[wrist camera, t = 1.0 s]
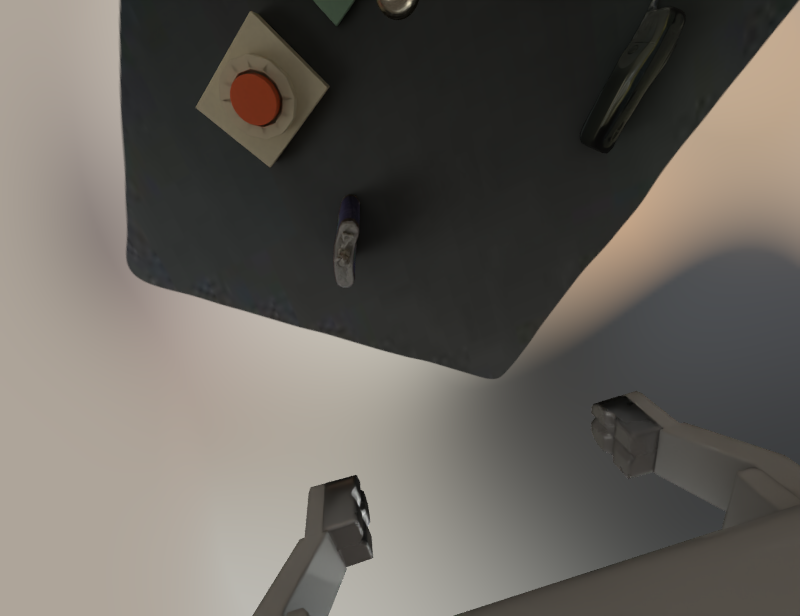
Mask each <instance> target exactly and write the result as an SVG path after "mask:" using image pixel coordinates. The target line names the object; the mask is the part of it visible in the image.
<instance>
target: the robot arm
mask: <svg viewBox="0 0 800 616" xmlns="http://www.w3.org/2000/svg"><path fill="white" fill-rule="evenodd" d="M591 413H592V414H593V415H594V416H595V419H594V420H593V421H592V423H591V430H592V433H593V436H594V439H595V440H596V442H597V444H598V445H599V446H600V447H601V449H602V450H603V451H605V452H607V453H610V454H611V455H613V462H614V463H615V465H616V466H617V467H618V468H619V469H620V470H621V471H622V472H623V473H624V475H625V476H626V477H627V478H628V479H629V478H634V477H637V476H641V475H644V474H648V473H651V472H654V473H655V474H657V475H658V476H660V477H662V478H664V479H666V480H668V481H670V482H672V483H673V484H675V485H677V486H679V487H681V488H683V489H685V490H687V491H688V492H690V493H692V494H694V495H696V496H698V497H700V498H701V499H703V500H705V501H707V502H709V503H711V504H713V505H714V506H716V507H718V508H720V509H722V510H724V511H726V514H725V518H724V521H723V526H722V529H721V530H718V531H715V532H712V533H709V534H706V535H703V536H699V537H696V538H693V539H690V540H687V541H684V542H681V543H678V544H675V545H672V546H668V547H665V548H662V549H659V550H656V551H653V552H650V553H647V554H644V555H640V556H637V557H634V558H632V559H628V560H625V561H622V562H619V563H616V564H612V565H609V566H606V567H603V568H600V569H597V570H594V571H591V572H588V573H585V574H581V575H578V576H575V577H572V578H569V579H566V580H563V581H560V582H557V583H553V584H550V585H547V586H544V587H541V588H538V589H535V590H532V591H529V592H526V593H523V594H520V595H516V596H513V597H510V598H507V599H504V600H501V601H498V602H495V603H492V604H489V605H485V606H482V607H479V608H476V609H473V610H470V611H467V612H464V613H460V614H457V615H454V616H800V465H798V464H797V463H795V462H794V461H792V460H791V459H789V458H788V457H786V456H785V455H782V454H779V453H776V452H773V451H770V450H767V449H764V448H761V447H757V446H755V445H751V444H748V443H745V442H742V441H739V440H736V439H733V438H730V437H727V436H724V435H721V434H718V433H715V432H712V431H709V430H706V429H703V428H700V427H697V426H693V425H690V424H687V423H681V424H680V423H678V422H677V421H676V420H675V419H673V418H672V417H671V416H670V415H668V414H667V413H666V412H665V411H663V410H662V409H661V408H659V407H658V406H657V405H656V404H654V403H653V402H652V401H651V400H649V399H648V398H647V397H646V396H644V395H643V394H642V393H640V392H637V391H635V392H632V393H628V394H625V395H622V396H618V397H615V398H611V399H608V400H605V401H602V402H599V403H595V404H593V406H592V411H591ZM369 523H370V516H369V509H368V503H367V500H366V497H365V494H364V491H362V490H360V481H359V479H358V477H357V475H354V476H350V477H347V478H343V479H339V480H335V481H332V482H328V483H325V484H322V485H318V486H314V487H311V489H310V491H309V496H308V507H307V519H306V530H305V538H302V539H300V540H299V542H298V543H297V545H296V547H295V548H294V550H293V552H292V553H291V555H290V556H289V558H288V559H287V561H286V563H285V564H284V566H283V567H282V569H281V571H280V572H279V574H278V576H277V577H276V579H275V580H274V582H273V584H272V585H271V587H270V589H269V590H268V592H267V593H266V595H265V596H264V598H263V600H262V601H261V603H260V604H259V606H258V608H257V609H256V611H255V613H254V614H253V616H328V614H329V612H330V609H331V607H332V604H333V602H334V599H335V597H336V595H337V592H338V590H339V587H340V585H341V582H342V579H343V577H344V575H345V572H346V567H348V566H351V565H354V564H357V563H360V562H363V561H365V560H369V559H372V558H373V551H372V539H371V534H370V532H369V529H368V525H369Z"/></svg>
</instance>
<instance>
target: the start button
mask: <svg viewBox="0 0 800 616" xmlns="http://www.w3.org/2000/svg"><path fill="white" fill-rule="evenodd" d="M230 99H231V103H232V106H233V108H234V110H235V112H236V113H237V114H238V115H239V117H240V118H242V119H243V120H244V121H246V122H247V123H249V124H252V125H265V124H267V123H269V122H270V121H272V120H273V119H274V118H275V117H276V116H277V114H278V112H279V109H280V98H279V94H278V91H277V89H276V88H275V86H274V85H273V83H272V82H271V81H270V80H269V79H267V78H266V77H264V76H262V75H260V74H256V73H249V74H243V75H240V76H239V77H237V78H236V79H235V80H234V81H233V83H232V85H231V89H230Z"/></svg>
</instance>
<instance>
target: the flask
mask: <svg viewBox="0 0 800 616" xmlns="http://www.w3.org/2000/svg"><path fill="white" fill-rule="evenodd" d="M359 209H360V202H359V200H358V198H357V197H356V195H355V196H353V195H347V196H345V197H344V198H343V201H342V202H341V205H340V210H339V215H338V225H337V232H336V238H335V243H334V253H333V263H334V274H335V280H336V282H337V284H338V285H339V286H341V287H344V288H347V287H350V286H352V285H353V283H354V280H355V257H356V247H357V246H356V245H357V244H356V241H357V238H358V235H359V219H360V214H359V211H360V210H359Z"/></svg>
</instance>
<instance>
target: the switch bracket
mask: <svg viewBox="0 0 800 616" xmlns="http://www.w3.org/2000/svg"><path fill="white" fill-rule="evenodd" d="M313 1H314V2H315V3H316V4H317V5H318V6H319V7H320V9H321V10H322V11H323V12H324V13H325V14H326V15H327V16H328V17H329V19H330V20H331V21H332V22H333V23H334V24H335V25H336V26H338V25H339V23H340V22H341V20H342V19H343V17H344V16H345V15H346V13H347V12H348V10H349V9H350V7H351V6H352V4H353V3H354V1H355V0H313Z"/></svg>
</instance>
